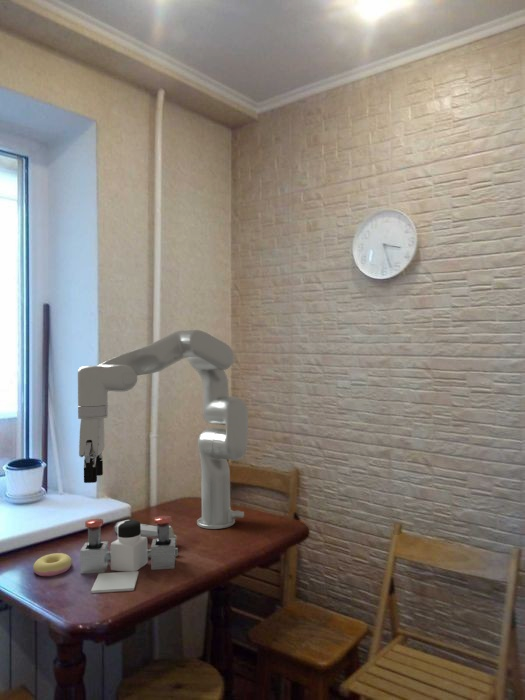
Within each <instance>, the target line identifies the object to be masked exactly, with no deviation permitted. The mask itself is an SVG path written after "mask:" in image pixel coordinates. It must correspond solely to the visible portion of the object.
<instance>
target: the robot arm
mask: <svg viewBox="0 0 525 700" xmlns="http://www.w3.org/2000/svg"><path fill="white" fill-rule="evenodd" d="M183 359H187V361H188V363H189V364H190V366H191V367H192V368H193V369H195V371H196V372H197V373H198V375H199V376H200V379H201V380H202V416H203V419H204V421H205V422H206V423H209V424H211V425H219V426H225V429H224V428H216V427H212V428H211V427H210V428H206V429H204V430H203V431H202V432H201V433H200V434H199V435H198V439H197V449H198V454H199V458H200V459H199V460H200V473H201V475H200V476H201V477H200V480H201V482H200V487H201V488H200V489H201V492H200V493H201V497H200V498H201V516H200V517H199V518H198V519H197V520H196V524H197V526H198V527H200V528H203V529H208V530H209V529H210V530H218V529H226V528H230V527H231V526H233V525H234V524H235V523H236V518H241V519H242V518H245V511H241V510H233V509H232V507H231V483H230V482H231V471H230V470H231V469H230V466H229V463H228V461H229V460H230V461H239V460H241V459H242V458H243V457H244V456H245V454H246V453H247V449H248V440H249V439H248V438H249V437H248V435H249V411H248V407H247V404H246V403H245V401H244V400H243V399H242V398H240V397H237V396H230V395H229V380H228V376H227V373H226V372H225V371H226V370H228V369H230V368H231V367H232V366H233V364H234V361H235V354H234V351H233V349H232V347H231V346H230V345H229V344H228V343H226V342H224V341H222V340H220V339H219V338H217V337H215V336H214V335H211V334H209V333H208V332H205V331H203V330H199V329H190V330H187V329H186V330H178V331H175V332H173V333H170V334H168V335H167V336H164V337H161V338H159V339H158V340H156V341H153V342H152V343H150V344H147V345H145V346H141V347H139V348H136V349H134V350H131V351H129V352H125V353H122V354H120V355H117V356H115V357H114V356H113V357H111V358H110V359H107V360H106V361H104V362H102V363H100V364H98V365H86V366H85V365H84V366H80V367H79V369H78V370H77V419H79V420H80V427H79V442H78V443H79V445H78V446H79V447H78V449H79V450H78V451H79V452H78V455H79V457H80V458H83V457H84V460H83V462H84V463H83V483H85V484H86V483H87V484H90V483H92V484H93V483H97V482H98V477H102V476H103V474H104V468H103V466H104V461H103V452H104V450H105V419H106V418H108V417H109V416H108V415H109V413H108V411H109V410H108V409H109V408H108V407H109V405H108V403H109V402H108V397H109V395H108V392H116V393H117V392H118V393H122V392H123V393H125V392H128V391H130V390H132V389H133V388H134V387H135V386H136V384H137V383H138V382H137V381H138V376H142V375H143V376H144V375H151V374H154V373H158V372H161V371H163V370H165V369H167V368H168V367H171V366H173V365H174V364H176V363H177V362H179V361H181V360H183Z"/></svg>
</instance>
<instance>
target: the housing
mask: <svg viewBox="0 0 525 700" xmlns="http://www.w3.org/2000/svg"><path fill="white" fill-rule="evenodd" d="M178 551H179V548H178V547H175V538H169V545H157V538H153V539H152V541H151V545H150V548H149V549H148V548H147V552H148V559H150V570H152V571H153V570H154V571H155V570H169V569H175V565H176V557H178V555H179V554H178V553H179V552H178ZM79 552H80V554H79V555H80V561H79V562H80V563H79V564H80V575H82V574H83V575H84V574H85V575H86V574H99V573H106V570H107V568H108V565H109V561H111V554H110V550H109V541H108V540H107V541H101V548H96V549H88V541H87V542H85V543H84V544H83V545H82V547H81V549H80V551H79Z"/></svg>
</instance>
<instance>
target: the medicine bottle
mask: <svg viewBox="0 0 525 700" xmlns="http://www.w3.org/2000/svg"><path fill="white" fill-rule="evenodd" d="M119 522H120V521H119ZM140 524H141V522H140V521H139V520H136V519H126V520H122V521H121V522H120V523H119V524H118V525H117V534H116V535H117V536H116V538H117V539H116V540H114V541H112V542H111V543H110V546H109V547H110V548H109V549H110V550H109V551H110V554H111V560H110V570H111V571H115V572H116V571H117V572H134V571H138V570H140V569H141V568H143V567H145V565H147V564H148V560H149V558H148V552H147V549H148V537H145V536H141V525H140Z"/></svg>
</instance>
